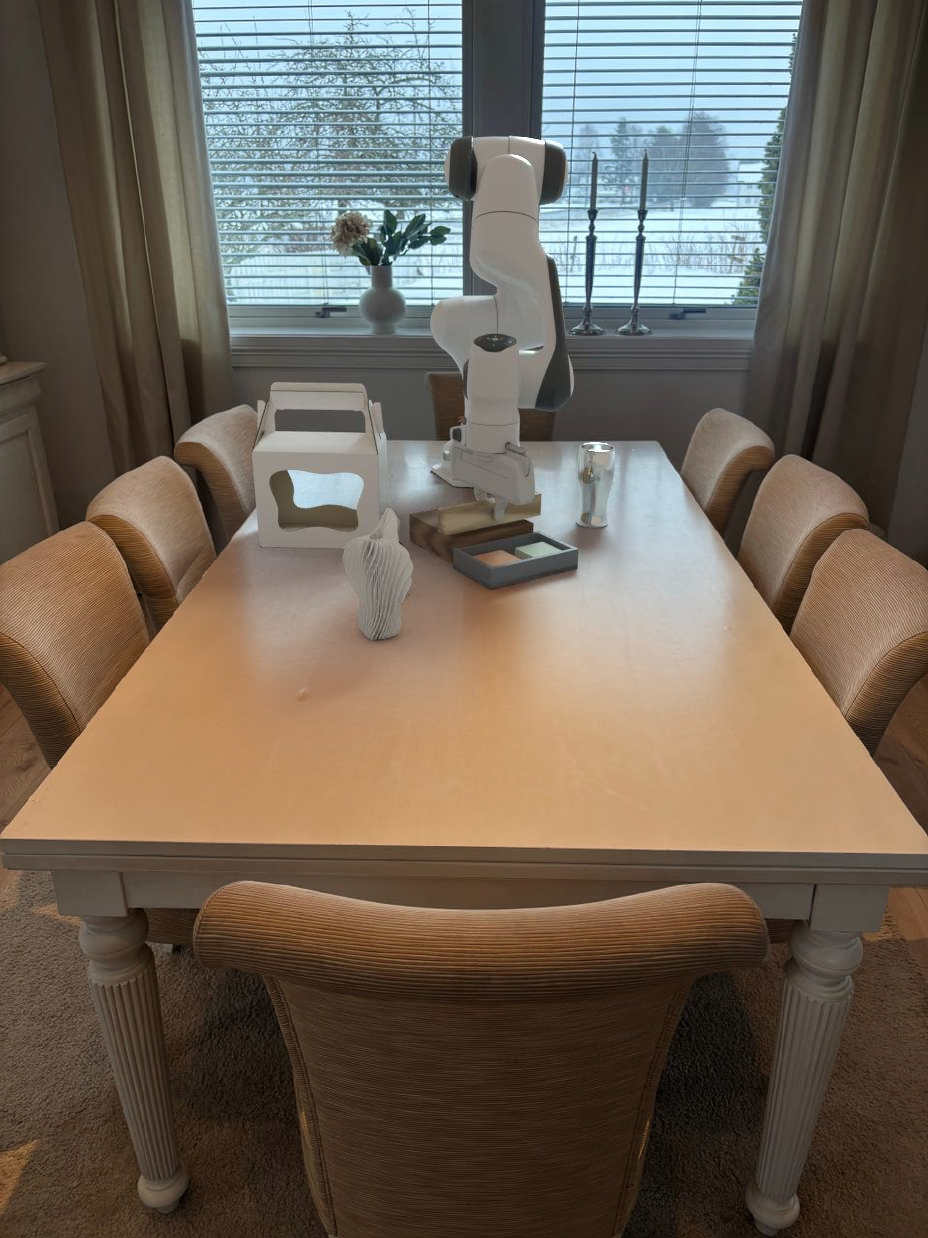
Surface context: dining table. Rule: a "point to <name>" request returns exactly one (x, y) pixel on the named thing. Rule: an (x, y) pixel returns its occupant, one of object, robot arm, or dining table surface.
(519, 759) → the dining table surface
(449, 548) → the dark wooden square block
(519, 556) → the sage tile
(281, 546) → the gable box
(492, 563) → the terracotta tile
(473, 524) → the bar
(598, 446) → the beer glass
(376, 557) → the shell sculpture
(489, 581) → the box
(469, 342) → the robot arm
